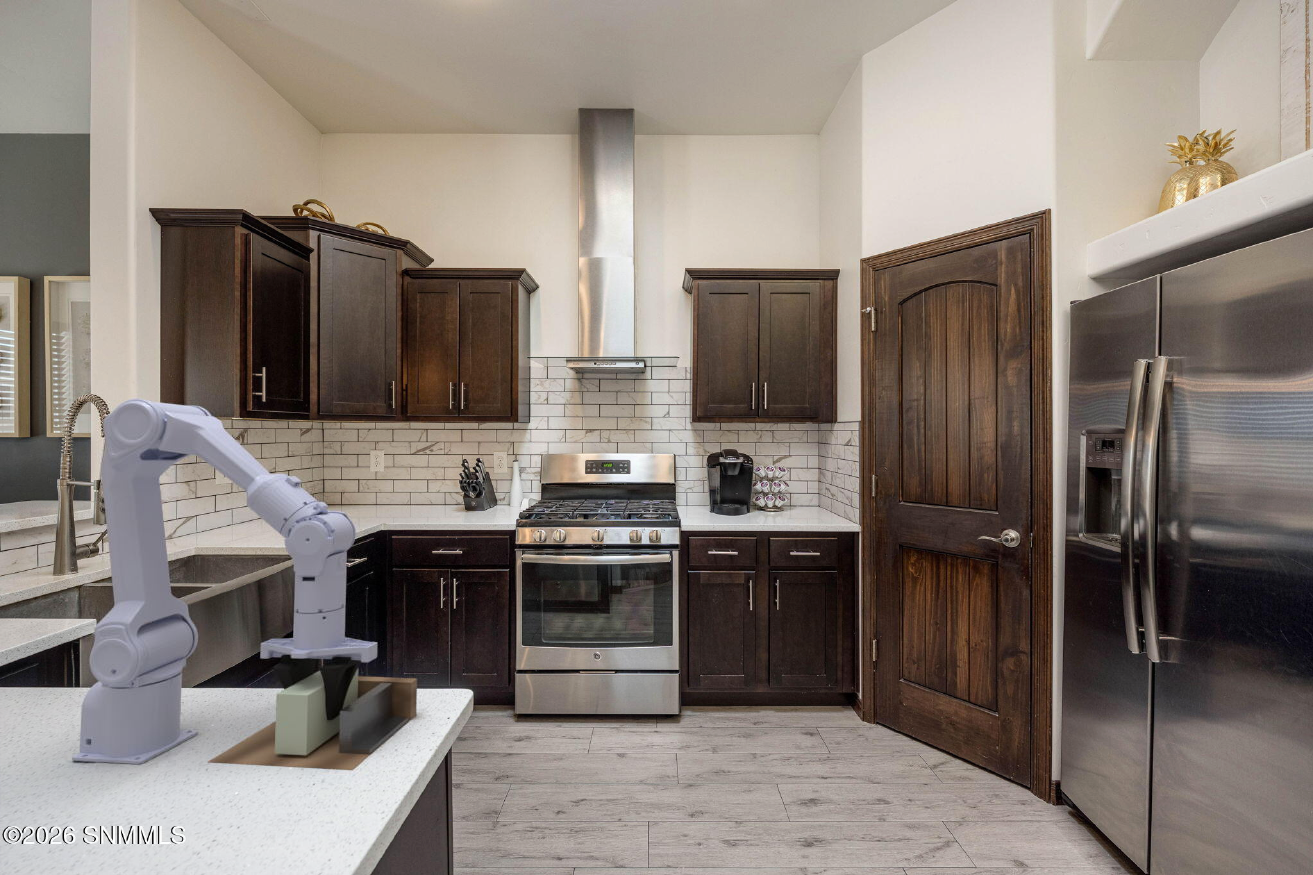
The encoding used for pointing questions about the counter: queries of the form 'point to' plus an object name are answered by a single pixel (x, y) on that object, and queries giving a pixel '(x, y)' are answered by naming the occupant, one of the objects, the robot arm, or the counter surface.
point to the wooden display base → (327, 754)
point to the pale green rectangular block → (306, 715)
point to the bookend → (368, 721)
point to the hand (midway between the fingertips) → (317, 715)
